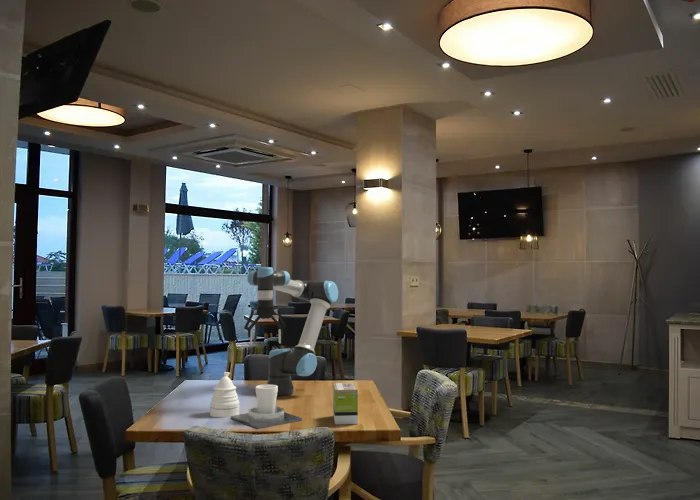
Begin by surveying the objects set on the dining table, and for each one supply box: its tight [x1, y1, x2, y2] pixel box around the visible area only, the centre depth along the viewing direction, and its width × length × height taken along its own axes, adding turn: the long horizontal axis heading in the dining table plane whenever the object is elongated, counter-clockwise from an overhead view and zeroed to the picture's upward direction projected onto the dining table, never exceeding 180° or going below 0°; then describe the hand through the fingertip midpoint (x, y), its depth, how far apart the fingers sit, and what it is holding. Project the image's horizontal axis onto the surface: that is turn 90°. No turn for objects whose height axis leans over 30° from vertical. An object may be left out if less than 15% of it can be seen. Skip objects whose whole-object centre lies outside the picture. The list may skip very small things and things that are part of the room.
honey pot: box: [209, 371, 240, 418], centre depth 255 cm, size 13×13×18 cm
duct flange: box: [230, 405, 303, 430], centre depth 245 cm, size 22×22×4 cm
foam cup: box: [255, 384, 278, 414], centre depth 246 cm, size 10×9×13 cm
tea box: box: [332, 382, 359, 425], centre depth 246 cm, size 15×10×15 cm, turn 5°
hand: (265, 343), depth 273 cm, fingers open, 13 cm apart
